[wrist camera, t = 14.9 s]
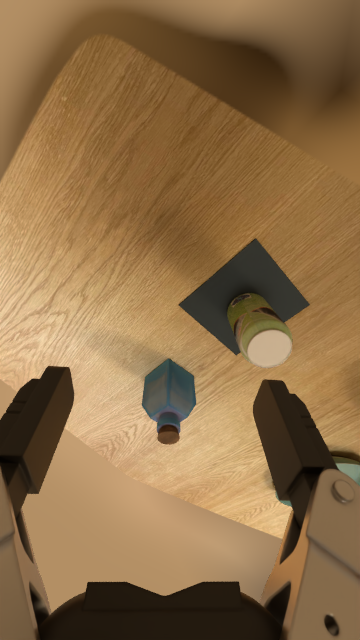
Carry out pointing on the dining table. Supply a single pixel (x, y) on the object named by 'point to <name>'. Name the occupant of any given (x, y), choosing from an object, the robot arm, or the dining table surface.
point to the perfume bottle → (169, 399)
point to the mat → (243, 292)
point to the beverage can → (259, 331)
